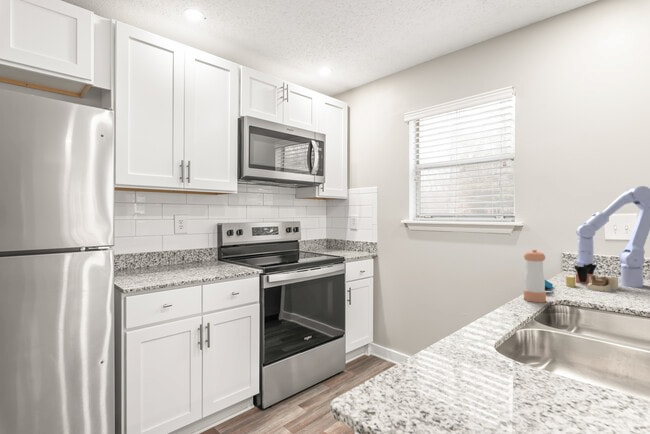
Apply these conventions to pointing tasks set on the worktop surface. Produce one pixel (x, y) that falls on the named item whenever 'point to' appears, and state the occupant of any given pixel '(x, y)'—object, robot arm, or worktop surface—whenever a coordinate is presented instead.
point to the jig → (608, 288)
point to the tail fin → (570, 281)
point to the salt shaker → (534, 277)
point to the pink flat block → (583, 282)
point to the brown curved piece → (600, 281)
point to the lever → (548, 284)
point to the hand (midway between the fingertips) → (585, 281)
